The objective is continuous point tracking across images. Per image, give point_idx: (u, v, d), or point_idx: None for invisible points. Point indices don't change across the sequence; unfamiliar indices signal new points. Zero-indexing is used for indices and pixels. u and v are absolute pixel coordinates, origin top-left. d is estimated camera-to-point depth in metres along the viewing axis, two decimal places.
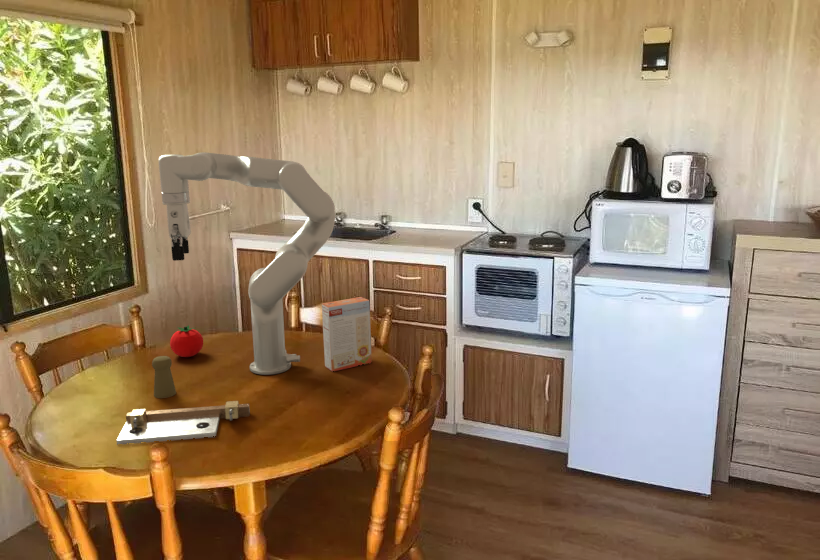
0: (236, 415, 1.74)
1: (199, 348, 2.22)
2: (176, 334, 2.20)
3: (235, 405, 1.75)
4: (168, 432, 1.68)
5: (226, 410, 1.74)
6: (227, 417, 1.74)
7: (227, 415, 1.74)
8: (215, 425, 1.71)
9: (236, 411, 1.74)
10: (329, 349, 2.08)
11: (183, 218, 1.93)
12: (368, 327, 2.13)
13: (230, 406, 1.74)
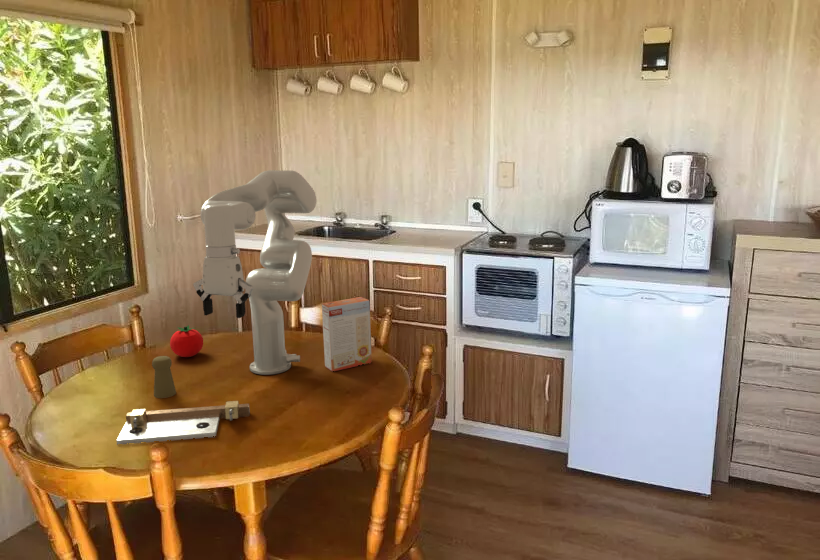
0: (236, 415, 1.74)
1: (199, 348, 2.22)
2: (176, 334, 2.20)
3: (235, 405, 1.75)
4: (168, 432, 1.68)
5: (226, 410, 1.74)
6: (227, 417, 1.74)
7: (227, 415, 1.74)
8: (215, 425, 1.71)
9: (236, 411, 1.74)
10: (329, 349, 2.08)
11: None
12: (368, 327, 2.13)
13: (230, 406, 1.74)
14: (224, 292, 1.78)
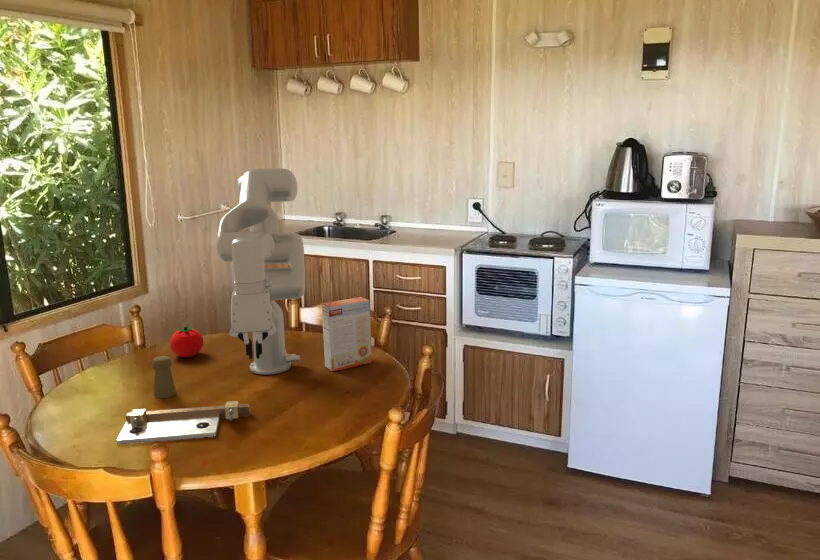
0: (236, 415, 1.74)
1: (199, 348, 2.22)
2: (176, 334, 2.20)
3: (235, 405, 1.75)
4: (168, 432, 1.68)
5: (226, 410, 1.74)
6: (227, 417, 1.74)
7: (227, 415, 1.74)
8: (215, 425, 1.71)
9: (236, 411, 1.74)
10: (329, 349, 2.08)
11: None
12: (368, 327, 2.13)
13: (230, 406, 1.74)
14: (259, 328, 1.70)
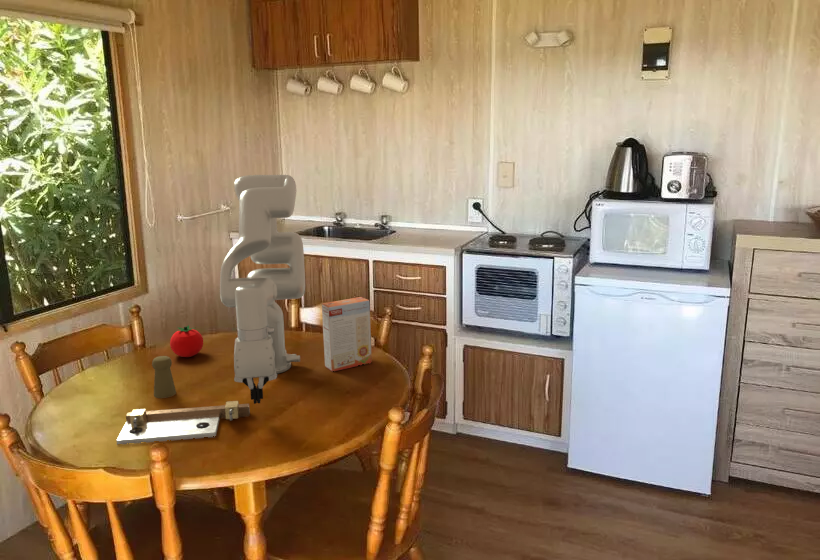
0: (236, 415, 1.74)
1: (199, 348, 2.22)
2: (176, 334, 2.20)
3: (235, 405, 1.75)
4: (168, 432, 1.68)
5: (226, 410, 1.74)
6: (227, 417, 1.74)
7: (227, 415, 1.74)
8: (215, 425, 1.71)
9: (236, 411, 1.74)
10: (329, 349, 2.08)
11: None
12: (368, 327, 2.13)
13: (230, 406, 1.74)
14: (261, 374, 1.72)
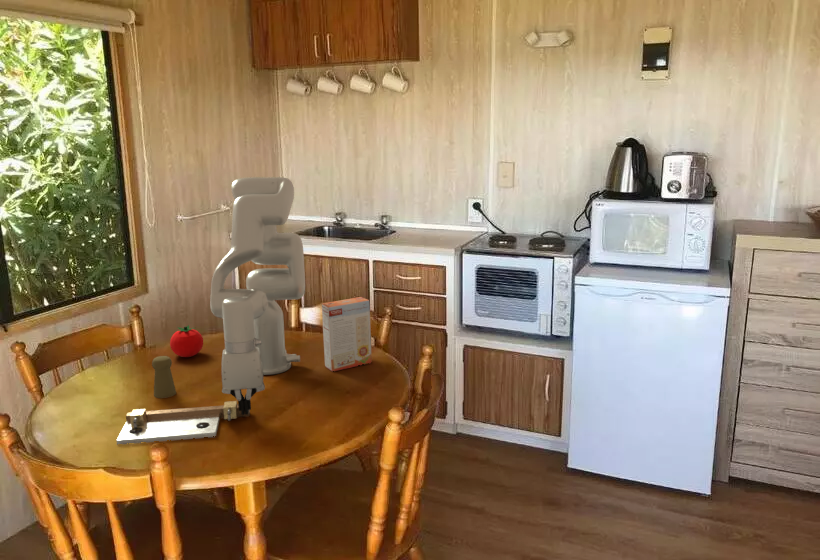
0: (234, 415, 1.74)
1: (199, 348, 2.22)
2: (176, 334, 2.20)
3: (233, 405, 1.75)
4: (168, 432, 1.68)
5: (224, 410, 1.74)
6: (225, 417, 1.74)
7: (225, 415, 1.74)
8: (215, 425, 1.71)
9: (234, 411, 1.74)
10: (329, 349, 2.08)
11: None
12: (368, 327, 2.13)
13: (228, 406, 1.74)
14: (249, 385, 1.73)
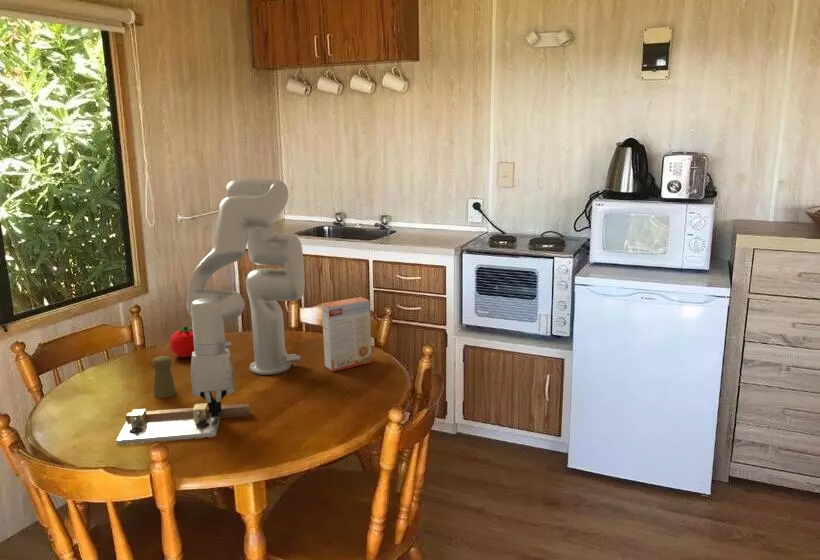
0: (204, 417, 1.73)
1: None
2: (176, 334, 2.20)
3: (203, 407, 1.73)
4: (168, 432, 1.68)
5: (194, 412, 1.72)
6: (195, 419, 1.73)
7: (195, 417, 1.73)
8: (215, 425, 1.71)
9: (204, 413, 1.73)
10: (329, 349, 2.08)
11: None
12: (368, 327, 2.13)
13: (198, 408, 1.73)
14: (219, 388, 1.72)
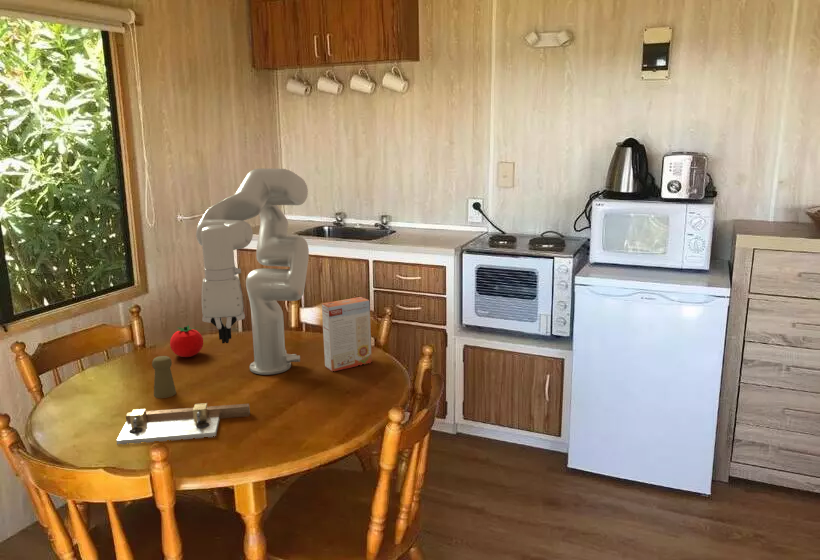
0: (204, 417, 1.73)
1: (199, 348, 2.22)
2: (176, 334, 2.20)
3: (203, 407, 1.73)
4: (168, 432, 1.68)
5: (194, 412, 1.72)
6: (195, 419, 1.73)
7: (195, 417, 1.73)
8: (215, 425, 1.71)
9: (204, 413, 1.73)
10: (329, 349, 2.08)
11: None
12: (368, 327, 2.13)
13: (198, 408, 1.73)
14: (229, 314, 1.75)
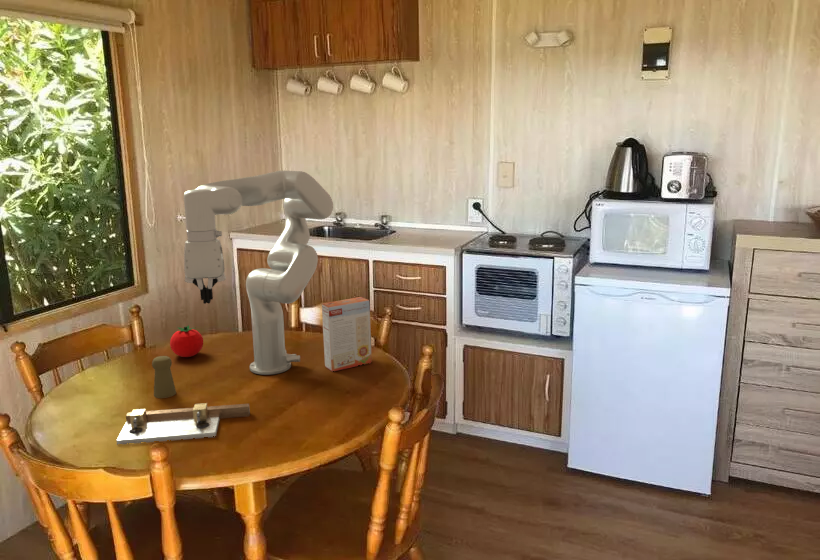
0: (204, 417, 1.73)
1: (199, 348, 2.22)
2: (176, 334, 2.20)
3: (203, 407, 1.73)
4: (168, 432, 1.68)
5: (194, 412, 1.72)
6: (195, 419, 1.73)
7: (195, 417, 1.73)
8: (215, 425, 1.71)
9: (204, 413, 1.73)
10: (329, 349, 2.08)
11: None
12: (368, 327, 2.13)
13: (198, 408, 1.73)
14: (210, 274, 1.83)
